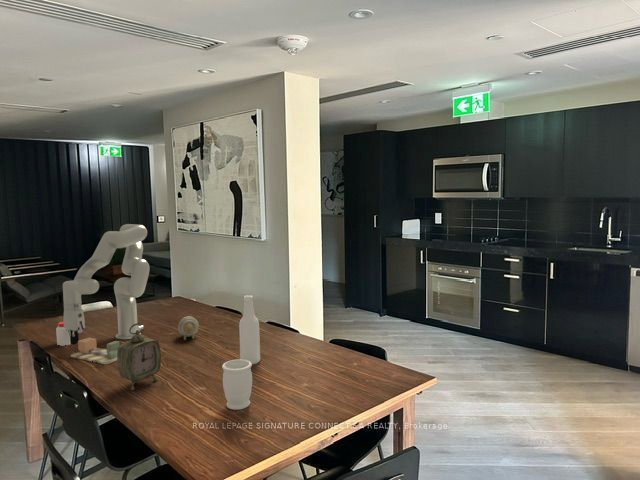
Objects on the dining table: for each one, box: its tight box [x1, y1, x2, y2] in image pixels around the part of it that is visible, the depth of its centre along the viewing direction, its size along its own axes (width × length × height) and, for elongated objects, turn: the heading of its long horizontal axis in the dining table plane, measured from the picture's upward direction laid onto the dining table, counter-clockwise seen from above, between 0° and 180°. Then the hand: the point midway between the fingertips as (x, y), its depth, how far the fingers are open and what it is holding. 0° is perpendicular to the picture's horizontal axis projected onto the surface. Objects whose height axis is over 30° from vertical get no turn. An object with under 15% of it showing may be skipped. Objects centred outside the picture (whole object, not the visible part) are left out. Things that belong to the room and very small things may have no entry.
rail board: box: [70, 340, 120, 366], centre depth 218 cm, size 24×12×8 cm, turn 63°
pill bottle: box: [55, 321, 72, 347], centre depth 238 cm, size 8×8×11 cm
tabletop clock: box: [116, 322, 162, 391], centre depth 185 cm, size 14×9×25 cm, turn 148°
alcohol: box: [238, 294, 261, 366], centre depth 207 cm, size 9×9×30 cm
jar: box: [221, 359, 253, 411], centre depth 166 cm, size 11×10×15 cm
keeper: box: [77, 336, 98, 354], centre depth 222 cm, size 5×6×6 cm
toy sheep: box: [177, 315, 200, 341], centre depth 246 cm, size 11×17×11 cm, turn 23°
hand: (74, 343), depth 225 cm, fingers closed
